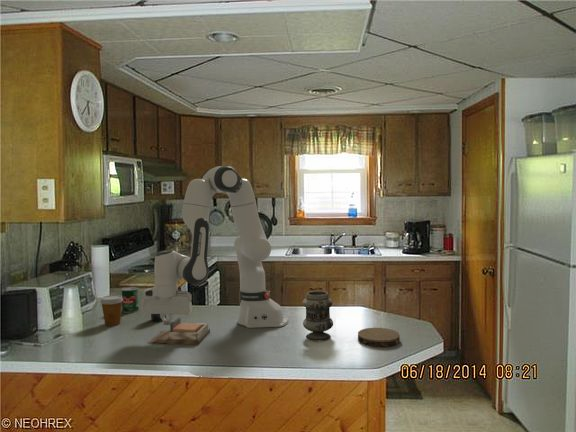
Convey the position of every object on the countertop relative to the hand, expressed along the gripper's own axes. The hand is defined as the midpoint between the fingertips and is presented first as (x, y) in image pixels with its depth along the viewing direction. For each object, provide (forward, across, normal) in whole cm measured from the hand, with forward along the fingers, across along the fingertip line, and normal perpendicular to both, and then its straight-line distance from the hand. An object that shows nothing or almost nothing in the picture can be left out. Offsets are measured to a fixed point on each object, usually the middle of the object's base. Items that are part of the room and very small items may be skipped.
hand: (167, 324), depth 196 cm
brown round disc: (+5, -84, -3) cm, 84 cm away
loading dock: (+6, -5, 0) cm, 8 cm away
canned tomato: (+6, +33, -39) cm, 51 cm away
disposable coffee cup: (+6, +32, -16) cm, 36 cm away
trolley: (+4, -8, +1) cm, 9 cm away
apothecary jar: (+5, -60, -5) cm, 61 cm away
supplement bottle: (+6, +14, -24) cm, 28 cm away
